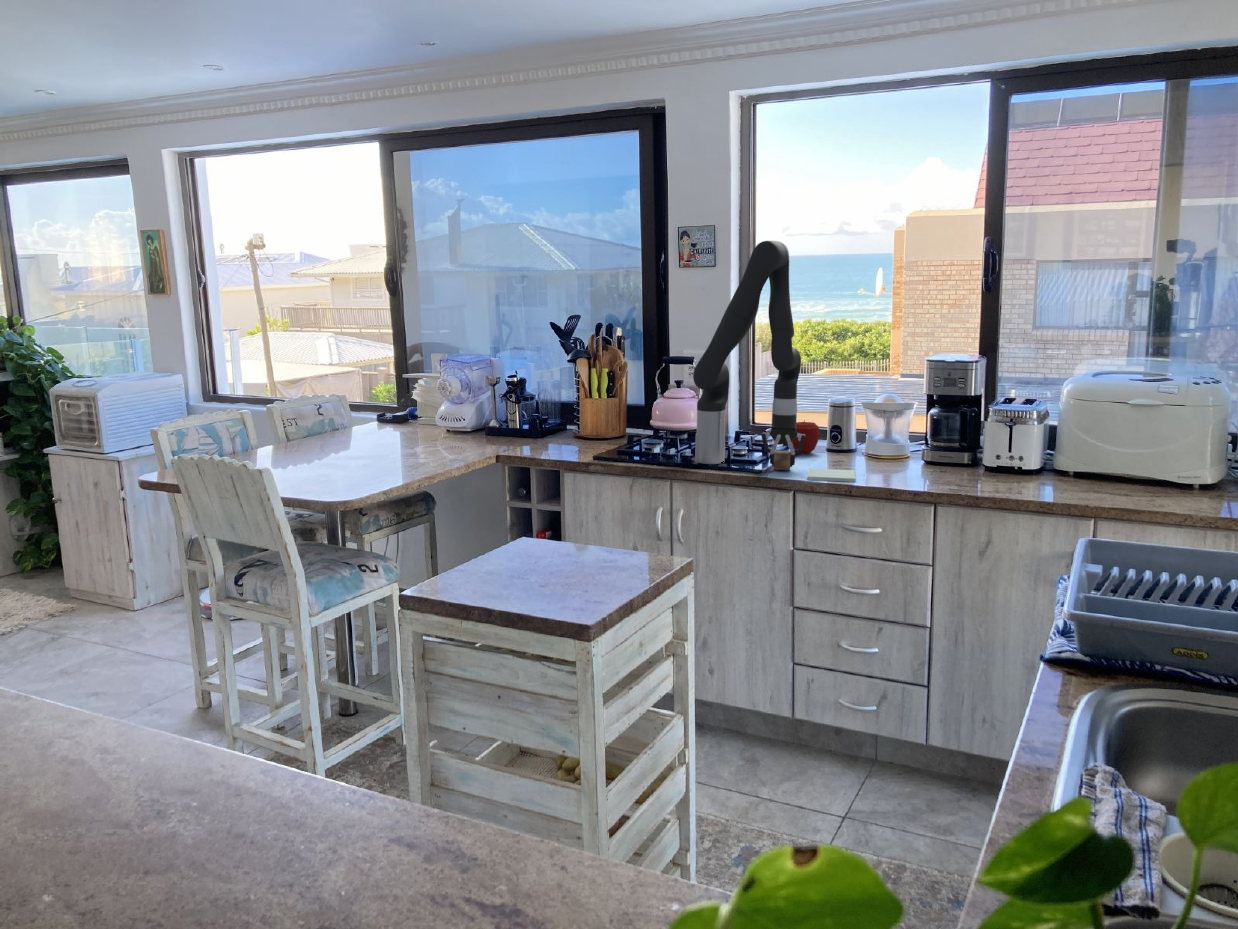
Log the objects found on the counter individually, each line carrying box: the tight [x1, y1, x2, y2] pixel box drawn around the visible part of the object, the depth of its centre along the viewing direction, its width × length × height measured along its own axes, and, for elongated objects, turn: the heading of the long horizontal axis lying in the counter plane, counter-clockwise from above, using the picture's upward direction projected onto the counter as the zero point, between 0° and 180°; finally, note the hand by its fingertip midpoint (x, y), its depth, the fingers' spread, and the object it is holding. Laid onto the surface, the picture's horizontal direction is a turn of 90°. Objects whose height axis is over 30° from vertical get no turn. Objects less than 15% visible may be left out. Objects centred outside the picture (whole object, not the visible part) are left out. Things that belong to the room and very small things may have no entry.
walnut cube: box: [773, 449, 791, 471], centre depth 305 cm, size 5×5×5 cm
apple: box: [792, 419, 821, 455], centre depth 332 cm, size 11×11×12 cm
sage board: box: [807, 468, 857, 483], centre depth 296 cm, size 14×12×1 cm
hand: (782, 465), depth 305 cm, fingers closed on walnut cube, 5 cm apart
